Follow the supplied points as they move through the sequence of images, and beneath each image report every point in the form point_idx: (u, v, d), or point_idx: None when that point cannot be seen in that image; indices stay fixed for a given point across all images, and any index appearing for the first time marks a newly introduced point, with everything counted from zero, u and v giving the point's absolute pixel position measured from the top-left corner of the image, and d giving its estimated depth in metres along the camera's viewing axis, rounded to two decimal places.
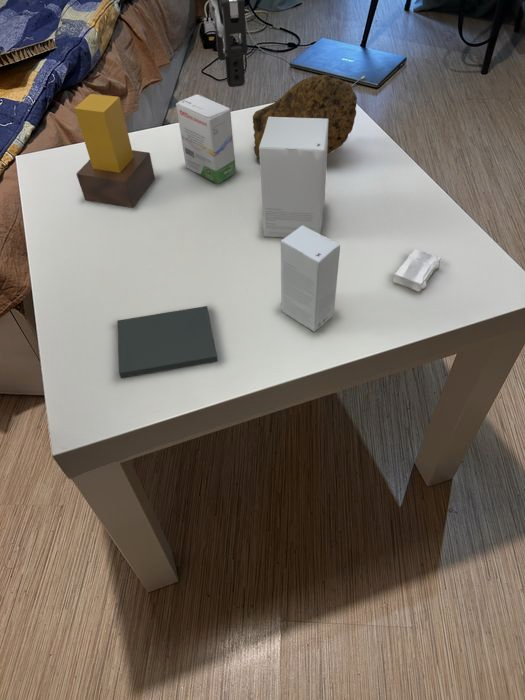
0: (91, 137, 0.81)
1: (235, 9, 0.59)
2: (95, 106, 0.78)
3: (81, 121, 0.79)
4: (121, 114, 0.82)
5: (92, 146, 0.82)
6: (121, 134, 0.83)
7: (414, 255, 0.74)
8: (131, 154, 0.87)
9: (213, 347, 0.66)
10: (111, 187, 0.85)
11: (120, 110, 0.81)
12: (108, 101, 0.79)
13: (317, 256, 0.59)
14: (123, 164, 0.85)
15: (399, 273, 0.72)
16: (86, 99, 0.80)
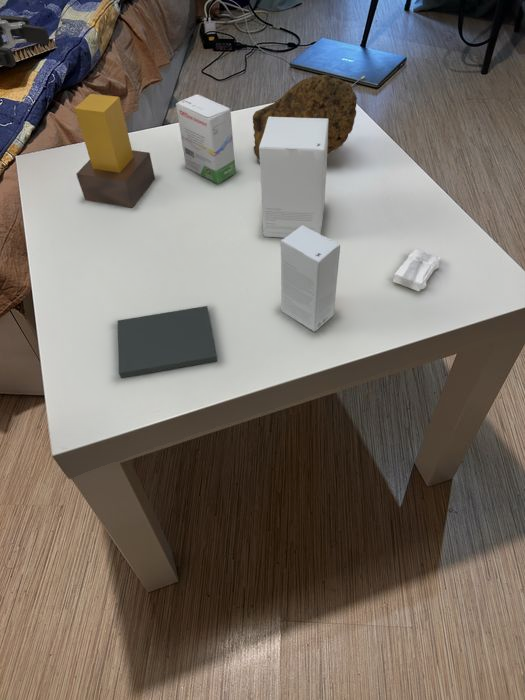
0: (91, 137, 0.81)
1: None
2: (95, 106, 0.78)
3: (81, 121, 0.79)
4: (121, 114, 0.82)
5: (92, 146, 0.82)
6: (121, 134, 0.83)
7: (414, 255, 0.74)
8: (131, 154, 0.87)
9: (213, 347, 0.66)
10: (111, 187, 0.85)
11: (120, 110, 0.81)
12: (108, 101, 0.79)
13: (317, 256, 0.59)
14: (123, 164, 0.85)
15: (399, 273, 0.72)
16: (86, 99, 0.80)
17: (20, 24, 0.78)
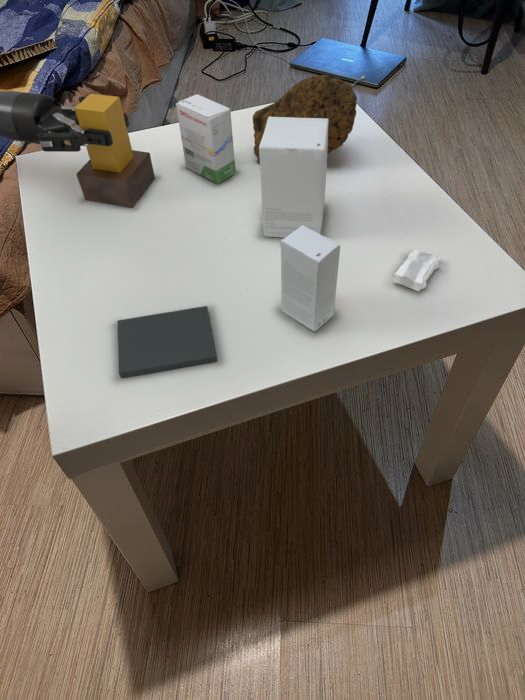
0: None
1: (45, 143, 0.79)
2: (95, 106, 0.78)
3: (81, 121, 0.79)
4: (121, 114, 0.82)
5: (92, 146, 0.82)
6: (121, 134, 0.83)
7: (414, 255, 0.74)
8: (131, 154, 0.87)
9: (213, 347, 0.66)
10: (111, 187, 0.85)
11: (120, 110, 0.81)
12: (108, 101, 0.79)
13: (317, 256, 0.59)
14: (123, 164, 0.85)
15: (399, 273, 0.72)
16: (86, 99, 0.80)
17: None
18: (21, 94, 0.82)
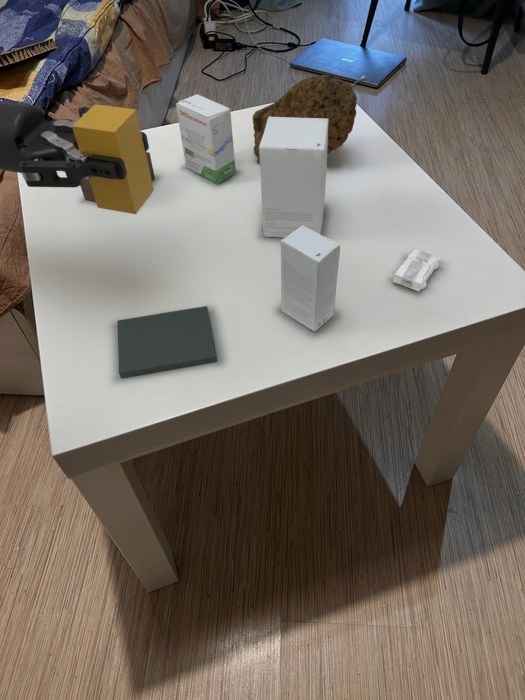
0: None
1: (30, 175, 0.55)
2: (102, 123, 0.54)
3: (81, 144, 0.55)
4: (138, 133, 0.58)
5: (97, 178, 0.58)
6: (138, 161, 0.59)
7: (414, 255, 0.74)
8: (151, 186, 0.63)
9: (213, 347, 0.66)
10: None
11: (137, 128, 0.57)
12: (121, 116, 0.55)
13: (317, 256, 0.59)
14: (140, 201, 0.61)
15: (399, 273, 0.72)
16: (89, 112, 0.56)
17: None
18: None
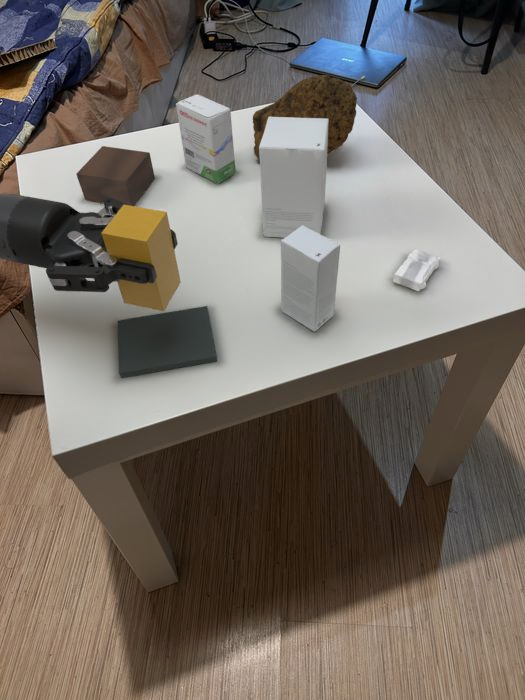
0: None
1: (57, 281, 0.54)
2: (133, 230, 0.52)
3: (110, 249, 0.54)
4: (168, 234, 0.56)
5: None
6: (167, 260, 0.57)
7: (414, 255, 0.74)
8: (178, 279, 0.61)
9: (213, 347, 0.66)
10: (111, 186, 0.85)
11: (167, 229, 0.55)
12: (152, 221, 0.53)
13: (317, 256, 0.59)
14: (168, 298, 0.59)
15: (399, 273, 0.72)
16: (118, 215, 0.54)
17: None
18: (22, 203, 0.56)
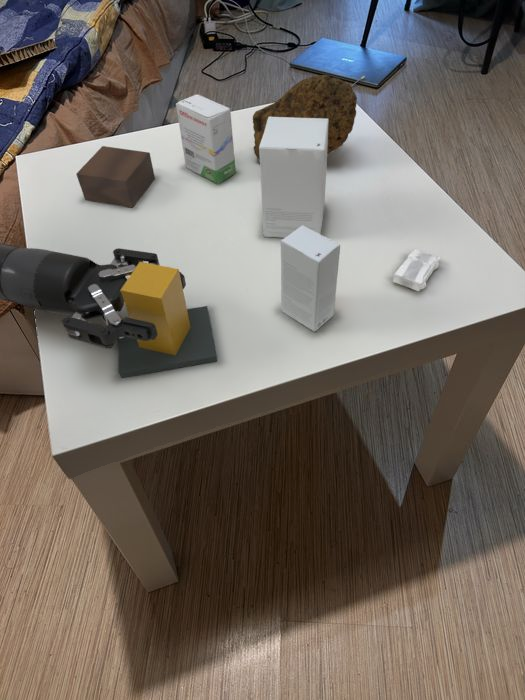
0: (141, 319, 0.61)
1: (70, 331, 0.59)
2: (149, 287, 0.58)
3: (128, 303, 0.60)
4: (180, 287, 0.62)
5: None
6: (179, 310, 0.63)
7: (414, 255, 0.74)
8: (188, 325, 0.67)
9: (213, 347, 0.66)
10: (111, 186, 0.85)
11: (179, 284, 0.61)
12: (165, 278, 0.59)
13: (317, 256, 0.59)
14: (179, 343, 0.65)
15: (399, 273, 0.72)
16: (135, 273, 0.60)
17: None
18: (47, 258, 0.62)
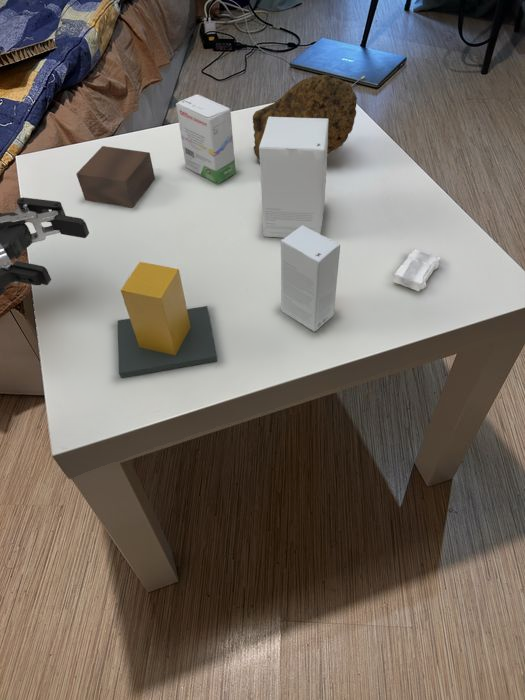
0: (141, 319, 0.61)
1: None
2: (149, 287, 0.58)
3: (128, 303, 0.60)
4: (180, 287, 0.62)
5: (141, 327, 0.63)
6: (179, 310, 0.63)
7: (414, 255, 0.74)
8: (188, 325, 0.67)
9: (213, 347, 0.66)
10: (111, 186, 0.85)
11: (179, 284, 0.61)
12: (165, 278, 0.59)
13: (317, 256, 0.59)
14: (179, 343, 0.65)
15: (399, 273, 0.72)
16: (135, 273, 0.60)
17: (52, 215, 0.62)
18: None
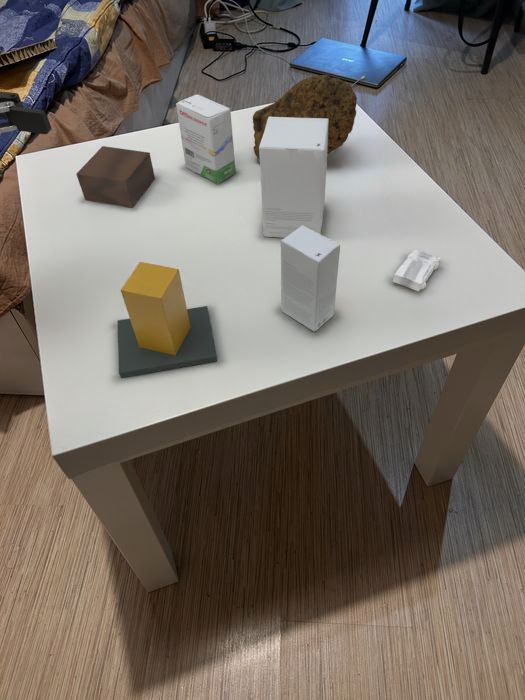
0: (141, 319, 0.61)
1: None
2: (149, 287, 0.58)
3: (128, 303, 0.60)
4: (180, 287, 0.62)
5: (141, 327, 0.63)
6: (179, 310, 0.63)
7: (414, 255, 0.74)
8: (188, 325, 0.67)
9: (213, 347, 0.66)
10: (111, 187, 0.85)
11: (179, 284, 0.61)
12: (165, 278, 0.59)
13: (317, 256, 0.59)
14: (179, 343, 0.65)
15: (399, 273, 0.72)
16: (135, 273, 0.60)
17: (7, 106, 0.52)
18: None
